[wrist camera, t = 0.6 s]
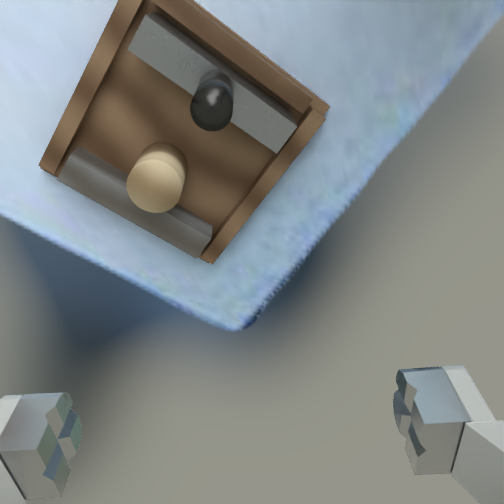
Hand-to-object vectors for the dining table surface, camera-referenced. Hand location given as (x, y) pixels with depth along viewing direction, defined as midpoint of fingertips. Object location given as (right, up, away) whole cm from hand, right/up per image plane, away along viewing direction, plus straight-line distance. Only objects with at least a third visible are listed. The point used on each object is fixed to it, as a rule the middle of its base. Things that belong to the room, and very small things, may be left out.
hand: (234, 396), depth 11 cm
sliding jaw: (-3, +20, +31) cm, 36 cm away
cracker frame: (-7, +16, +35) cm, 38 cm away
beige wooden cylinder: (-9, +13, +35) cm, 38 cm away
